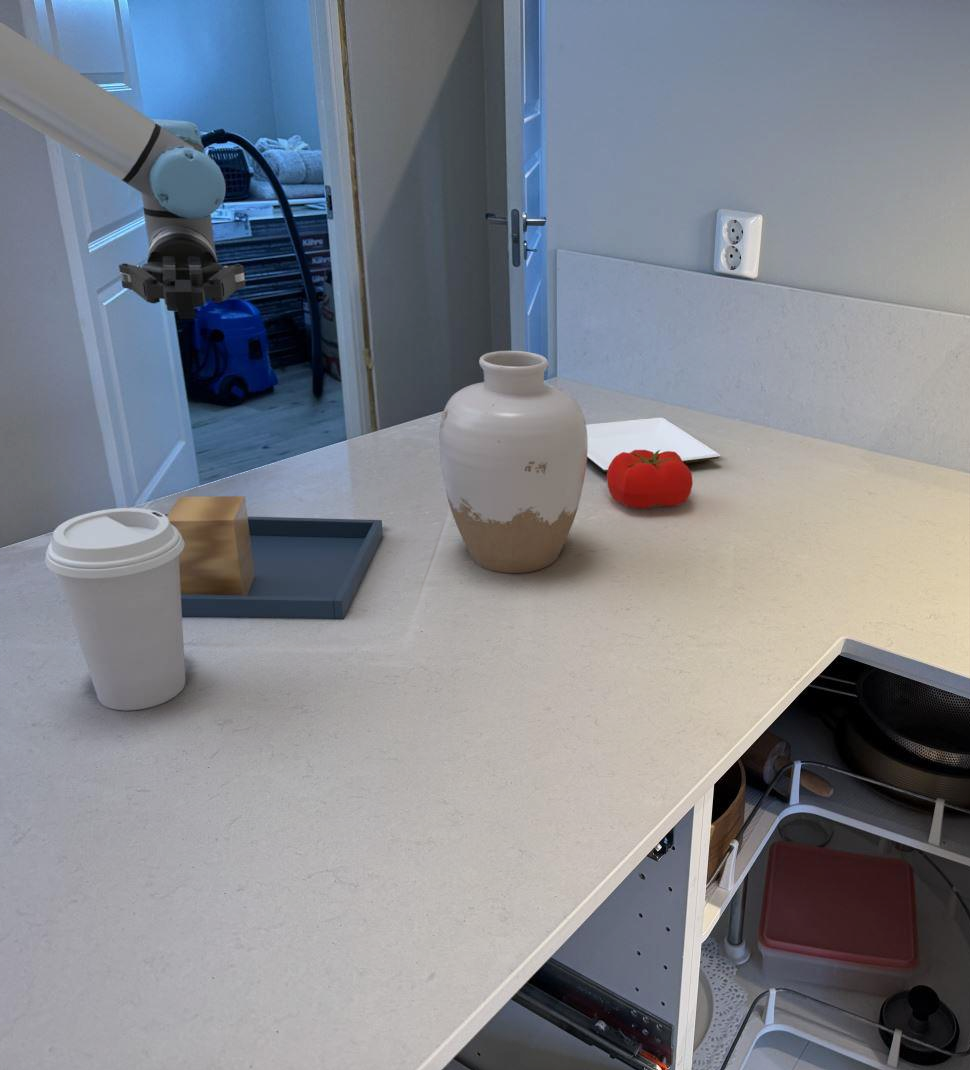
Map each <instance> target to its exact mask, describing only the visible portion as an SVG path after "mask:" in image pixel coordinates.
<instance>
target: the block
mask: <svg viewBox="0 0 970 1070" xmlns="http://www.w3.org/2000/svg"><path fill="white" fill-rule="evenodd" d="M247 509H248V508H247V501H246V496H245V495H228V496H227V495H223V496H179V497H178V498H177V499H176V501H175V503H174V504H173V506H172V507H171V509H170V510H169V511H168V513H167V514H168V515H167V518H168V519H169V521H170V523H171V524H172V525H173V526H174V527H176V528H177V530H178V531H179V533H180V534H181V536H182V538H183V540H184V543H185V545H184V548H183V550H182V552H181V553H180V554H179V569H180V590H181V594H185V595H243V596H247V594H248V592H249V589H250V587H251V584H252V582H253V579H254V577H255V573H254V565H253V557H252V549H251V541H250V533H249V525H248V517H247V516H248V510H247Z"/></svg>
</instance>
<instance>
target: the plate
mask: <svg viewBox="0 0 970 1070" xmlns="http://www.w3.org/2000/svg"><path fill="white" fill-rule="evenodd" d="M586 428H587V436H588V451H587V460H589V461H591V463H593V464H594V465H595V466H597V467H598V468H599V469H600V470H602V471H603V472H605V473H607V472H608V467H609V465H610V464H611V462H612V460H613V459H614V458H615V457H616V456H617V455H619V454H620V453H622V452H626V453H630V452H632V451H634V450H648V451H651V452H653V453H654V454H655V453H656V452H657V451H658V450H660V451H659V453H658V454H660V453H662V452H666V451H672V452H676V453H677V454H678V455H679V456H680V458H681V460H682V462H683V463H684V464H685V465H688V464H689V465H690V464H696V463H701V462H707V461H713V460H718V459H719V458H720V457H721V454H720V453H718V452H717V451H715V449H712V448H711V447H709V446H707V445H706V444H704V443H703V442H701V441H700V440H698V439H697V438H695V437H693V436H692V435H690V434H689V433H688V432H686V431H684V430H683V429H681V428H680V427H678V426H677V425H675V424H673V423H671V422H670V421H669V420H667V419H665V418H664V417H653V418H641V419H632V420H619V421H610V422H601V423H599V422H598V423H589V424H586Z"/></svg>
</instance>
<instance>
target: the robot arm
mask: <svg viewBox="0 0 970 1070" xmlns="http://www.w3.org/2000/svg"><path fill="white" fill-rule="evenodd" d="M0 109H1V110H2V111H4V112H6V113H8V114H9V115H11V116H13V117H14V118H15V119H18V120H19V121H21V122H23V123H25V124H26V125H28V126H30V127H31V128H32V129H34V130H36V131H38V132H40V133H41V134H43V135H45V136H47V137H48V138H50V139H51V140H52V141H55V142H56V143H58V144H60V145H61V146H63V147H65V148H66V149H69V150H70V151H71V152H73V153H74V154H77V155H78V156H80V157H82V158H84V159H85V160H87V161H88V162H90V163H92V164H93V165H95V166H97V167H99V168H100V169H102V170H104V171H105V172H106V173H108V174H111V175H113V176H114V177H115V178H117V179H119V180H120V181H122V182H124V183H126V185H128V186H130V187H131V188H133V189H134V190H136V191H138V192H140V193H141V198H142V204H143V207H142V209H143V216H144V224H145V230H146V236H147V243H148V254H147V260H146V263H143V264H142V265H139V264H137V265H134V264H129V263H125V262H124V263H121V264H119V265H118V269H119V275H120V281H121V287H122V288H123V289H128V290H132V291H133V292H134V293H135V294H136V295H138V296H139V297H140V298H142V299H143V300H144V301H145V302H146V303H149V304H157V303H160V302H161V299H162V300H164V305H166V310H167V311H169V312H177V316H178V320H181V319H182V320H183V319H184V320H189V319H191V320H192V319H196V313H195V306H205V305H207V301H206V300H208V299H211V302H212V303H216V304H221V303H223V302H225V301H226V300H227V299H229V297H230V296H232V294H233V293H234V292H236V291H237V290H241V289H243V288H246V279H245V270H244V269H245V268H244V265H242V264H240V263H234V264H231V265H222V264H220V263H219V262H218V258H217V249H216V243H215V239H214V238H215V237H214V231H213V230H214V229H213V223H212V222H213V221H212V214H213V213H215V212H216V211H217V210H218V209H219V208H221V206H222V205H223V202H224V200H225V197H226V187H227V186H226V181H225V178H224V177H225V176H224V175H223V172H222V170H221V168H220V166H219V165H218V164H217V163H216V161H215V159H214V158H213V157H211V156H210V155H209V154H207V153H205V152H204V150H205V147H204V144H203V142H202V137H201V132H200V129H199V127H198V126H197V124H195V123H194V122H192V121H187V120H186V121H185V120H177V119H161V118H149V117H148V116H146V115H145V114H144V113H142V112H140V111H139V110H137V109H135V108H134V107H132V106H131V105H130V104H127V103H126V102H125V101H123V100H121V99H120V98H118V97H117V96H115V95H114V94H112V93H110V92H109V91H107V90H106V89H105V88H104V87H101V86H100V85H98V84H97V83H96V82H93V81H92V80H91V79H89V78H88V77H86V76H84V75H83V74H81V73H79V72H78V71H77V70H75V69H73V68H72V67H70V66H69V65H68V64H66V63H64V62H63V61H61V59H59V58H57V57H55V56H53V55H52V54H51V53H49V52H47V51H46V50H44V49H43V48H41V47H40V46H38V45H36V44H35V43H34V42H32V41H30V40H29V39H27V38H25V37H24V36H23V35H21V34H19V33H18V32H16V31H15V30H13V29H12V28H10V27H8V26H7V25H6V24H4V23H2V22H1V21H0Z"/></svg>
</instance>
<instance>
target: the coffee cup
mask: <svg viewBox="0 0 970 1070" xmlns="http://www.w3.org/2000/svg"><path fill="white" fill-rule="evenodd" d="M164 514H165V513H162V512H159V511H157V510H153V509H148V508H141V507H140V508H139V507H118V508H117V507H116V508H108V509H101V510H97V511H92V512H87V513H83V514H81V515H77V516H74V517H72V518H69V519H68V520H65V521H64V522H62V523H61V524H59V525H58V526H57V527H55V529H54V530H53V533H52V537H51V538H52V539H51V541H49V544H47V545H48V546H47V549H46V552H45V558H44V559H45V561H44V564H45V565H46V567H47V569H48V570H50V571H51V572H53V573H54V574H56V577H57V580H58V583H59V586H60V589H61V591H62V595H63V598H64V600H65V604H66V606H67V609H68V612H69V615H70V619H71V622H72V625H73V627H74V631H75V633H76V636H77V639H78V642H79V645H80V648H81V651H82V654H83V657H84V660H85V663H86V666H87V669H88V673H89V675H90V679H91V681H92V684H93V687H94V690H95V694H96V696H97V700H98V701H99V703H100V704H101V705H102V706H103V707H106V708H108V709H111V710H115V711H138V710H145V709H149V708H153V707H156V706H159V705H162V704H164V703H166V702H168V701H170V700H172V699H173V698H175V697H177V696H178V695H179V694H180V693H181V692H182V691H183V689H184V688H185V686H186V664H185V646H184V630H183V629H184V628H183V617H182V608H181V590H180V569H179V554H180V553H181V552H182V550H183V548H184V545H185V543H184V540H183V538H182V536H181V534H180V533H179V531H178V530H177V528H176V527H174V526H173V525H172V524H171V523H170V521H169V519H168V518H167V517H166V516H165V515H164Z"/></svg>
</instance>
